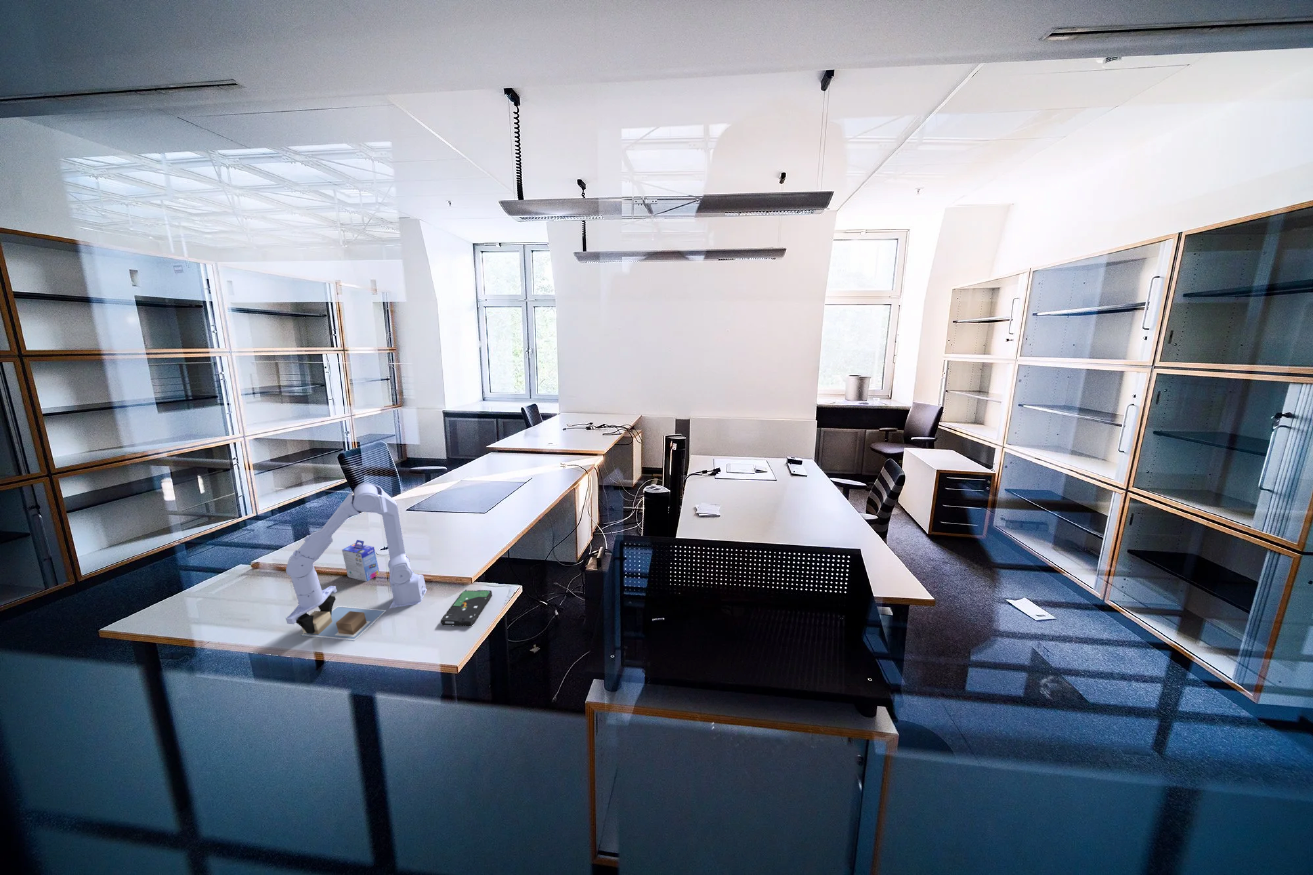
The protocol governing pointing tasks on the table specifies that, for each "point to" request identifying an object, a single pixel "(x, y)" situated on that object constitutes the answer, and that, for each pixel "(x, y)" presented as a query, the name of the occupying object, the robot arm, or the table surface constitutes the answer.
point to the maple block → (320, 621)
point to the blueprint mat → (341, 611)
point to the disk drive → (467, 608)
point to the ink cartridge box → (360, 561)
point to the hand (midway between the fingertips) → (319, 625)
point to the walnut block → (351, 622)
